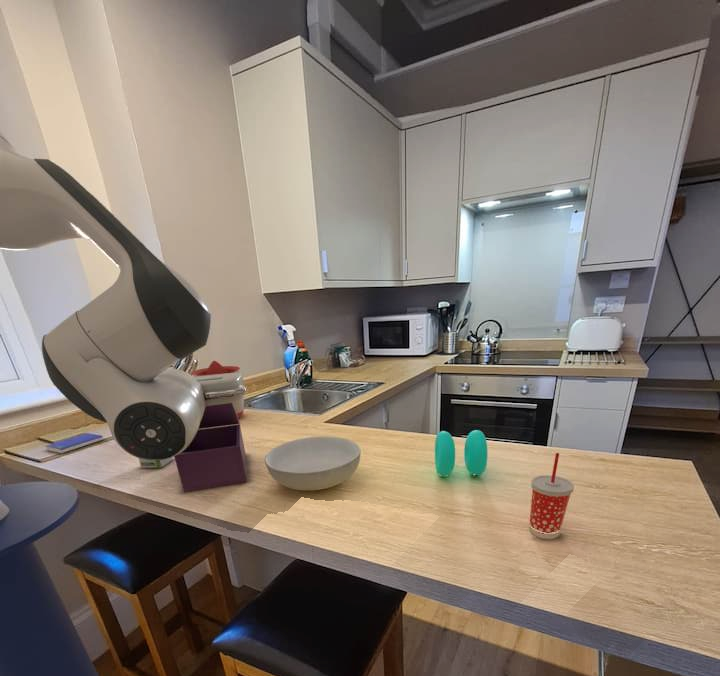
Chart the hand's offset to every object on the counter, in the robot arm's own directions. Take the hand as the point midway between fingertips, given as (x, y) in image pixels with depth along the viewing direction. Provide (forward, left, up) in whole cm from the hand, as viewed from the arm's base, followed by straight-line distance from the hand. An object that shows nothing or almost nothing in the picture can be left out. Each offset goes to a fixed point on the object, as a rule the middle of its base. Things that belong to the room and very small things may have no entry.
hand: (184, 383), depth 69 cm
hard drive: (-2, +74, -25) cm, 78 cm away
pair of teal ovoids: (+41, -33, -25) cm, 58 cm away
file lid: (+11, +16, -11) cm, 23 cm away
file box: (+11, +16, -25) cm, 31 cm away
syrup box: (+5, +35, -25) cm, 43 cm away
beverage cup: (+28, -55, -25) cm, 67 cm away
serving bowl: (+21, -8, -25) cm, 34 cm away
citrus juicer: (+40, +56, -25) cm, 73 cm away
